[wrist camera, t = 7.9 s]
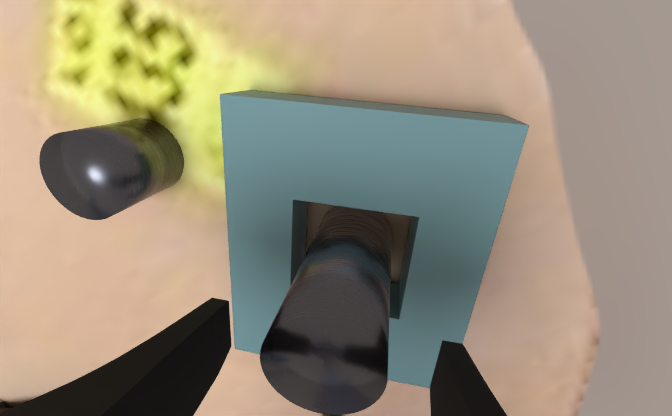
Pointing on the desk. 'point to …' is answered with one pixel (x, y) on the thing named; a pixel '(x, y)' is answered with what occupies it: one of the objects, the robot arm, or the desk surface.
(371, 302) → the tall pin
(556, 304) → the desk surface
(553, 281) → the desk surface
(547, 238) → the desk surface
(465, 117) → the hole block
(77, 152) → the short pin
